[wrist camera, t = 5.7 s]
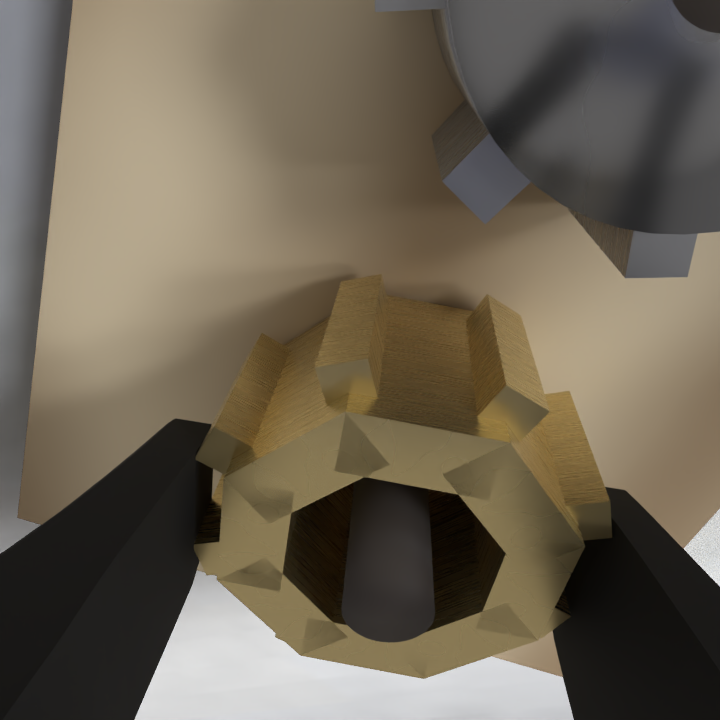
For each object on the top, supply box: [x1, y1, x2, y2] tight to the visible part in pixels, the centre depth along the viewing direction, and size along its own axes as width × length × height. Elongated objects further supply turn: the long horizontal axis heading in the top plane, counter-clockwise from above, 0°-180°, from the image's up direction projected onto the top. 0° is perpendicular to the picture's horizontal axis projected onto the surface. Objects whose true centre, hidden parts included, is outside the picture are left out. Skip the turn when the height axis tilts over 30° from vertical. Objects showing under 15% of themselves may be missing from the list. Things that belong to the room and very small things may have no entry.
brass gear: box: [194, 274, 612, 679], centre depth 10 cm, size 6×6×3 cm
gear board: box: [17, 0, 720, 677], centre depth 8 cm, size 13×18×5 cm
